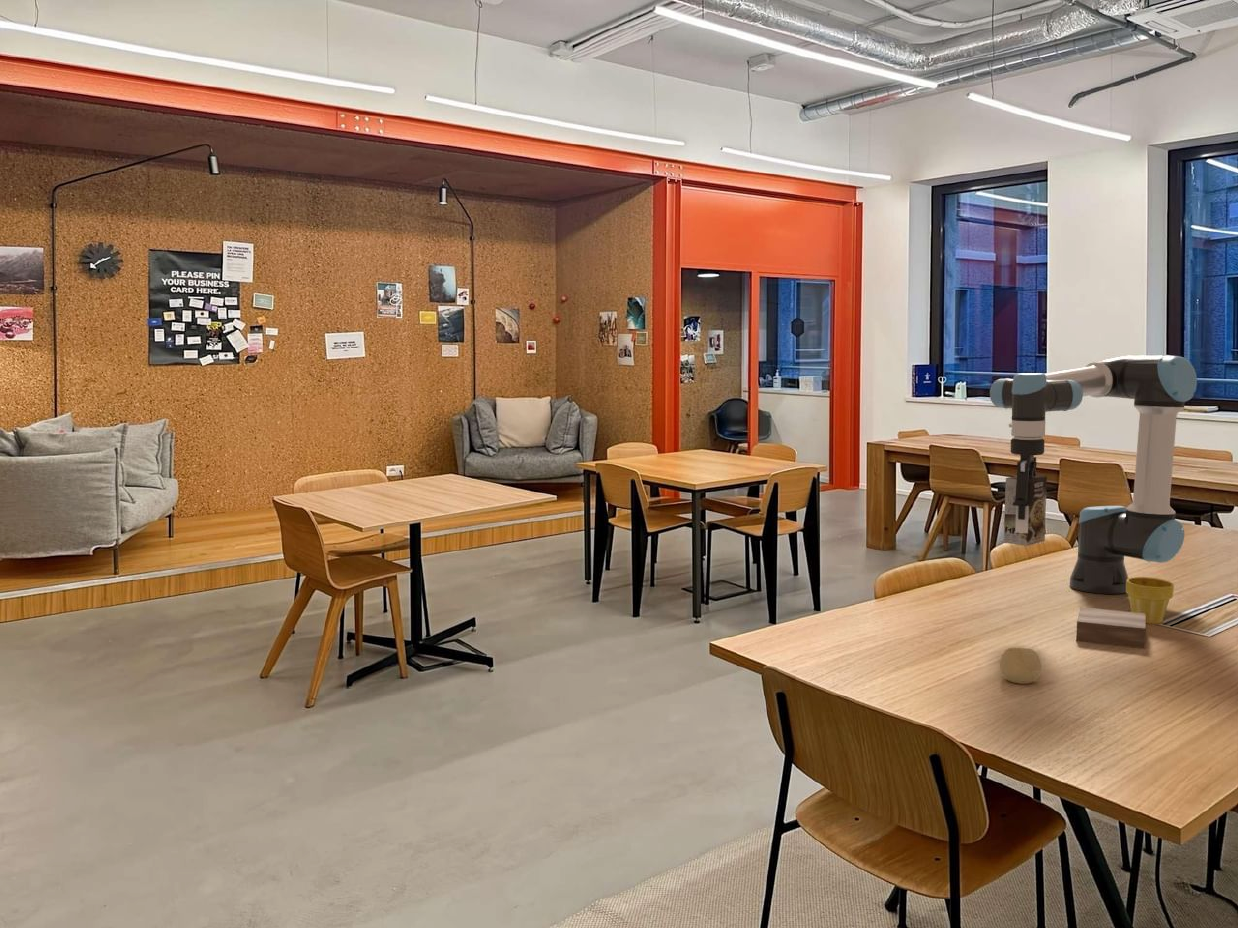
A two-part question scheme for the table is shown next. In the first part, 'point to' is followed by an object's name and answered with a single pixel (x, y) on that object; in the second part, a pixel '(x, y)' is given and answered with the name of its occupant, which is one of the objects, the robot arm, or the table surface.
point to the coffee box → (1034, 515)
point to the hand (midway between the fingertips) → (1024, 528)
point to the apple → (1020, 665)
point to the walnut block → (1111, 627)
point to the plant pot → (1149, 597)
